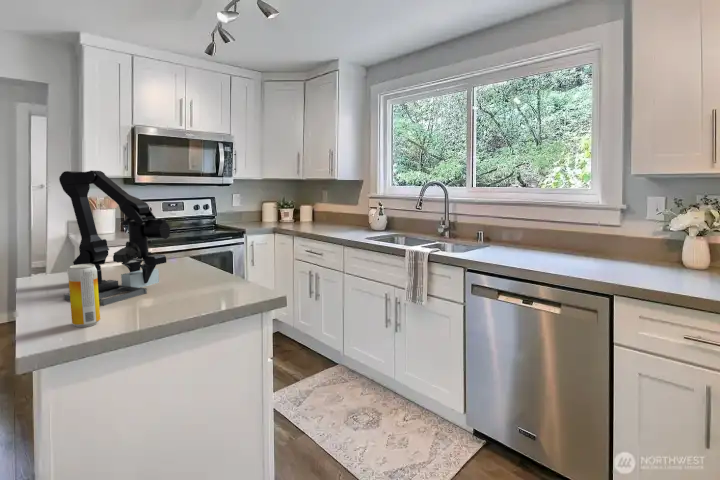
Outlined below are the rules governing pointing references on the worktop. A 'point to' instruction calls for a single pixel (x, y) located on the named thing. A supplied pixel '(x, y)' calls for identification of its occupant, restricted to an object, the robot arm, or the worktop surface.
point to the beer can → (84, 295)
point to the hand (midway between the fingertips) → (141, 282)
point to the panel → (139, 279)
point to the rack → (114, 292)
